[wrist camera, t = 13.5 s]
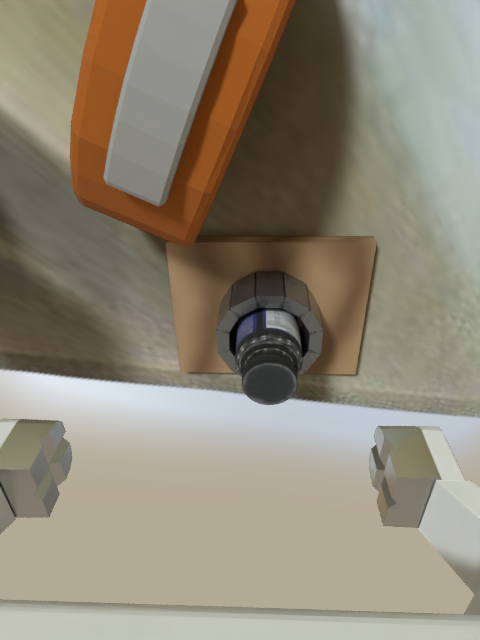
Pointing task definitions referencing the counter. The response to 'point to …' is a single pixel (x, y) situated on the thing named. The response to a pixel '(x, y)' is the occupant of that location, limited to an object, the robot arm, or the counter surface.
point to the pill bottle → (268, 354)
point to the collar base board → (271, 255)
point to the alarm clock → (167, 105)
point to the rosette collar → (269, 293)
